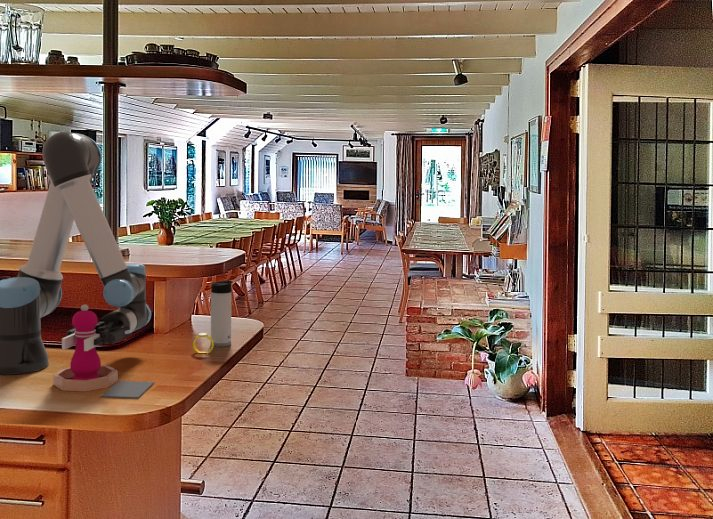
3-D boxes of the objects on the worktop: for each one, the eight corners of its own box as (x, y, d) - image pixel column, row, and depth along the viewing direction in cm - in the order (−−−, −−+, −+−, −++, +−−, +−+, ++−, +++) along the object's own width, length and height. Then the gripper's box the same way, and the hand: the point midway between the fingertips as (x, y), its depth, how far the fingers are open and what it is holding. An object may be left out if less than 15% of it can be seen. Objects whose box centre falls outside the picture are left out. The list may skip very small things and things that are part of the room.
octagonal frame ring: (45, 389, 170) (45, 379, 170) (70, 373, 184) (70, 364, 184) (102, 391, 170) (102, 381, 170) (123, 375, 184) (123, 366, 184)
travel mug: (234, 345, 218) (235, 282, 216) (214, 347, 215) (214, 283, 212) (228, 341, 224) (228, 279, 221) (208, 343, 220) (208, 280, 218)
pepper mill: (85, 376, 182) (83, 300, 179) (107, 380, 179) (106, 303, 177) (64, 384, 175) (62, 305, 173) (87, 388, 172) (85, 308, 170)
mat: (100, 397, 166) (100, 395, 166) (118, 382, 178) (118, 380, 178) (138, 398, 166) (138, 397, 166) (154, 383, 178) (154, 382, 178)
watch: (192, 355, 207) (191, 335, 206) (195, 352, 210) (193, 333, 209) (212, 354, 207) (211, 334, 206) (215, 352, 210) (213, 332, 209)
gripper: (148, 339, 193) (110, 362, 170) (86, 336, 195) (39, 357, 172) (148, 312, 192) (109, 331, 169) (86, 309, 194) (39, 327, 171)
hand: (74, 344), depth 171 cm, fingers closed on pepper mill, 5 cm apart
